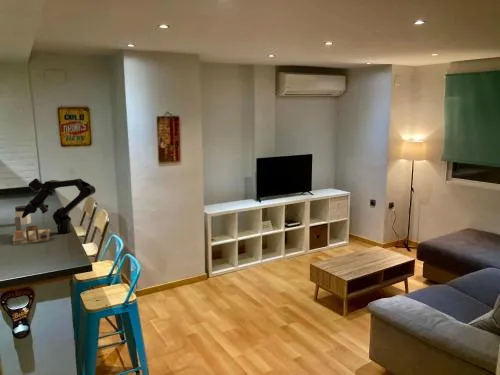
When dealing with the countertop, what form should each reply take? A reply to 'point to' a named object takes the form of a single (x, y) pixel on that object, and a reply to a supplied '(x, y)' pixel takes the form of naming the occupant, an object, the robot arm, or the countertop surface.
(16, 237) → the knobbed beige slab
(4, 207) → the countertop surface
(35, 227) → the tunnel
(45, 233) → the board
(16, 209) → the jar
